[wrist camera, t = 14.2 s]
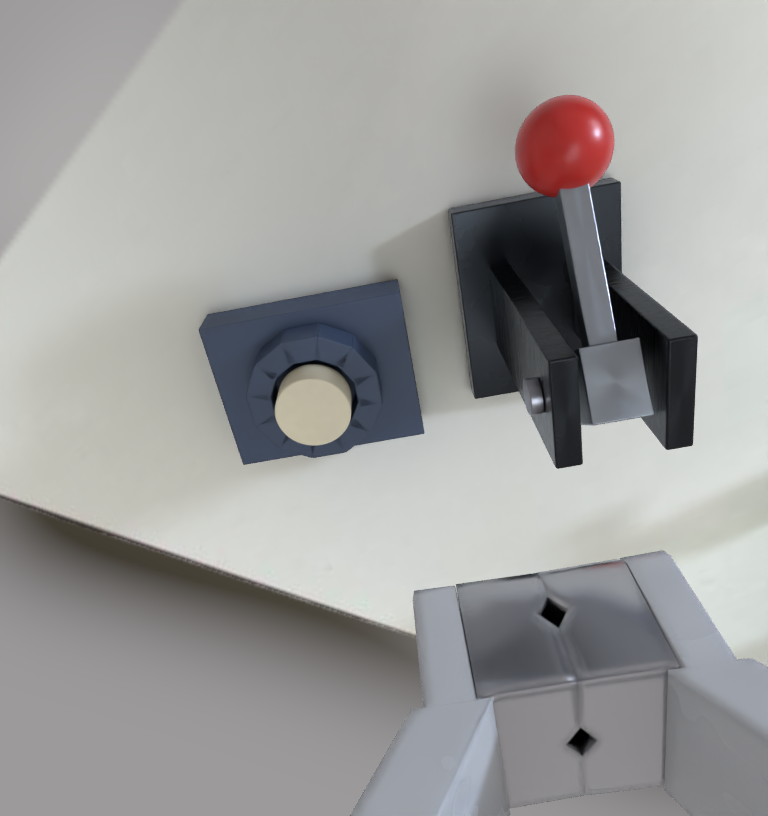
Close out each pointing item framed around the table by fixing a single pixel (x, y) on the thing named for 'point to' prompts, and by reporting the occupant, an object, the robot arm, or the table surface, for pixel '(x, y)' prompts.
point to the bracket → (559, 318)
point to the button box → (315, 344)
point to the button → (313, 404)
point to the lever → (584, 250)
